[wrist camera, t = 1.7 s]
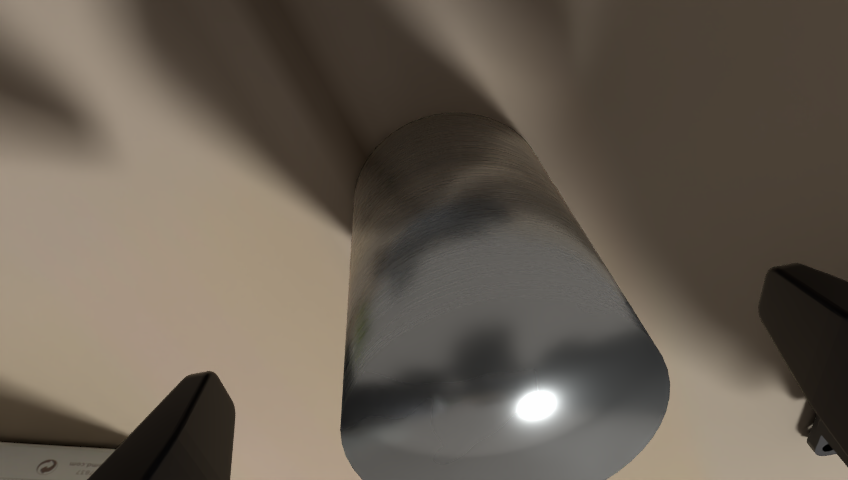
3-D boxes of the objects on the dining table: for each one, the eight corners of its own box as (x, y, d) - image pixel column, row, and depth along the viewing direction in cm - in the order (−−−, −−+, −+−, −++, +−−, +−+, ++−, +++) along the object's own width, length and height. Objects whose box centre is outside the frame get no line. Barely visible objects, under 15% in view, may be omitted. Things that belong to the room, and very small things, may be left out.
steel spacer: (540, 94, 11) (687, 267, 6) (548, 263, 13) (656, 487, 8) (330, 135, 11) (296, 340, 6) (377, 295, 13) (381, 536, 8)
